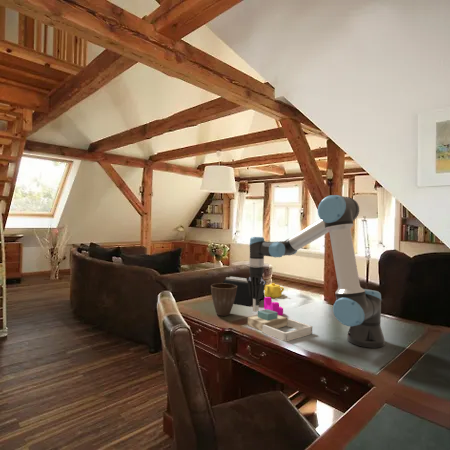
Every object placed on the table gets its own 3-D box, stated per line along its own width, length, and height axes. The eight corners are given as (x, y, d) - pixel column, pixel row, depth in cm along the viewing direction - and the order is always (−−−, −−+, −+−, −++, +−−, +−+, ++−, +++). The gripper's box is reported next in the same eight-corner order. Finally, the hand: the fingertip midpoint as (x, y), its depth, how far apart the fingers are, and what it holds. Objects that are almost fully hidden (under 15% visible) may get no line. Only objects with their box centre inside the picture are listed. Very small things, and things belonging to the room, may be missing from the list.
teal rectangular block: (277, 318, 163) (277, 312, 163) (267, 320, 159) (267, 314, 159) (267, 314, 169) (267, 309, 169) (257, 317, 165) (257, 311, 165)
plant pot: (231, 309, 193) (231, 282, 193) (240, 316, 179) (241, 287, 179) (207, 311, 188) (207, 283, 188) (214, 318, 174) (215, 288, 174)
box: (312, 333, 153) (312, 326, 153) (285, 341, 142) (285, 333, 142) (288, 325, 165) (288, 318, 165) (262, 332, 154) (262, 325, 154)
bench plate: (287, 325, 164) (287, 318, 164) (264, 331, 155) (264, 323, 155) (270, 320, 174) (270, 312, 174) (247, 325, 164) (247, 317, 164)
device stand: (249, 307, 199) (249, 283, 199) (218, 302, 212) (219, 279, 211) (265, 300, 218) (265, 278, 218) (236, 296, 230) (236, 274, 230)
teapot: (285, 300, 220) (285, 285, 220) (266, 300, 218) (267, 285, 218) (278, 295, 233) (279, 281, 233) (261, 296, 231) (261, 281, 231)
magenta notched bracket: (283, 316, 182) (283, 303, 182) (272, 316, 181) (272, 303, 181) (273, 309, 197) (274, 297, 196) (264, 309, 195) (264, 297, 195)
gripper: (270, 267, 168) (269, 312, 168) (253, 264, 178) (252, 307, 179) (259, 268, 164) (258, 315, 164) (243, 265, 174) (242, 309, 174)
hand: (255, 310), depth 171 cm, fingers closed
